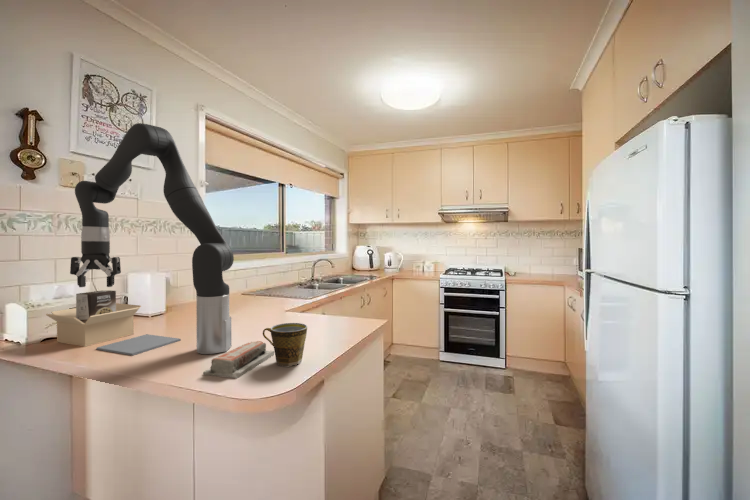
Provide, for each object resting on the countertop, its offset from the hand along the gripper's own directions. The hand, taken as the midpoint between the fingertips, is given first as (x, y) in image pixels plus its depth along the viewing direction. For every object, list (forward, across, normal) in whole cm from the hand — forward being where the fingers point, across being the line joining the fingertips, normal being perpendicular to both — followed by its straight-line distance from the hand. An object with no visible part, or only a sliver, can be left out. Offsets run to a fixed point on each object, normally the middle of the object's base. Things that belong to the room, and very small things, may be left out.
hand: (96, 286), depth 114 cm
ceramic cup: (+18, -67, +33) cm, 77 cm away
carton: (+18, 0, 0) cm, 18 cm away
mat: (+18, -19, +10) cm, 28 cm away
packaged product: (+18, -56, +33) cm, 67 cm away
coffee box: (+18, 0, 0) cm, 18 cm away
